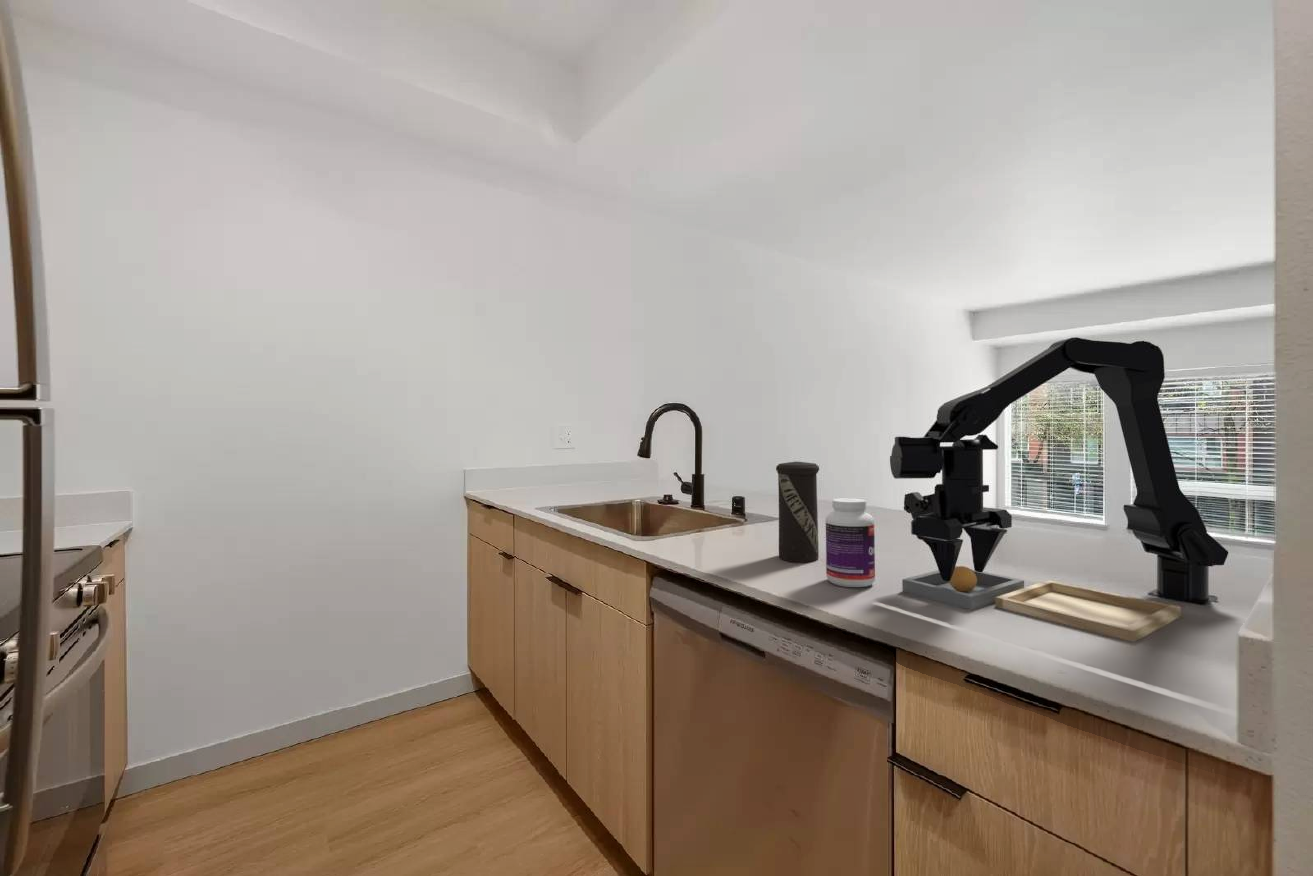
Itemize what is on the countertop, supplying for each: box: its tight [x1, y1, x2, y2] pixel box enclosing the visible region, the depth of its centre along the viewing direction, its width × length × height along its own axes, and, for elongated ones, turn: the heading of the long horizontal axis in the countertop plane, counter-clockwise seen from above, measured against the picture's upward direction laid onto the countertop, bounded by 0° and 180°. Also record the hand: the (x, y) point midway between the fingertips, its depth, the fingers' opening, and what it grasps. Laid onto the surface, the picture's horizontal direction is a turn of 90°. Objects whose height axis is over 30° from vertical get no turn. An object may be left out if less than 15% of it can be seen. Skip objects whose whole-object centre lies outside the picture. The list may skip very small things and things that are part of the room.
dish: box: [994, 579, 1182, 643], centre depth 77 cm, size 16×16×2 cm
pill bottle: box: [825, 497, 876, 588], centre depth 95 cm, size 8×8×14 cm
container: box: [775, 461, 820, 563], centre depth 113 cm, size 9×9×20 cm
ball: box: [949, 565, 977, 592], centre depth 87 cm, size 4×4×4 cm
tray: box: [901, 565, 1025, 611], centre depth 87 cm, size 15×11×2 cm
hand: (962, 576), depth 87 cm, fingers open, 9 cm apart
